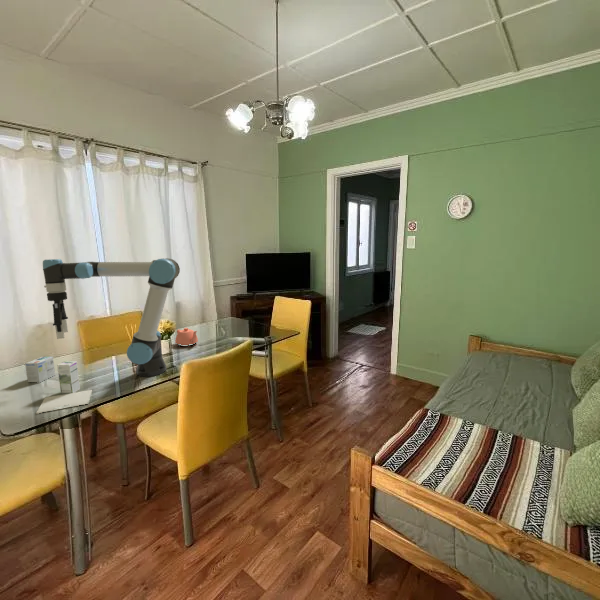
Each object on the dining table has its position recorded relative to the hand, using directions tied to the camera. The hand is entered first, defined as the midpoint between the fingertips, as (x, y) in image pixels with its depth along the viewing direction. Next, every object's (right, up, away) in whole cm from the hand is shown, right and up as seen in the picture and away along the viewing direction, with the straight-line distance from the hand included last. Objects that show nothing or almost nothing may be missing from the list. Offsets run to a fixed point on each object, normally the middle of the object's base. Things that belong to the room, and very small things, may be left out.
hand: (62, 335), depth 156 cm
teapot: (+35, -15, +75) cm, 84 cm away
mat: (+11, -28, -12) cm, 33 cm away
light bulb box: (-21, -25, +14) cm, 35 cm away
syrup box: (+5, -27, -2) cm, 28 cm away
